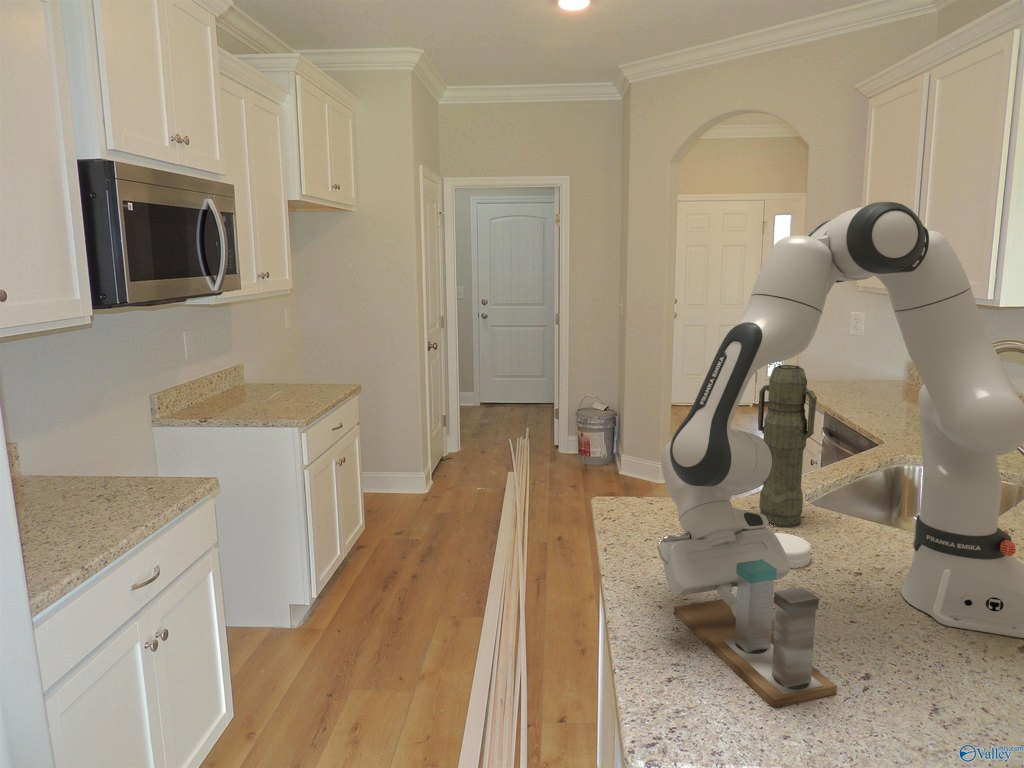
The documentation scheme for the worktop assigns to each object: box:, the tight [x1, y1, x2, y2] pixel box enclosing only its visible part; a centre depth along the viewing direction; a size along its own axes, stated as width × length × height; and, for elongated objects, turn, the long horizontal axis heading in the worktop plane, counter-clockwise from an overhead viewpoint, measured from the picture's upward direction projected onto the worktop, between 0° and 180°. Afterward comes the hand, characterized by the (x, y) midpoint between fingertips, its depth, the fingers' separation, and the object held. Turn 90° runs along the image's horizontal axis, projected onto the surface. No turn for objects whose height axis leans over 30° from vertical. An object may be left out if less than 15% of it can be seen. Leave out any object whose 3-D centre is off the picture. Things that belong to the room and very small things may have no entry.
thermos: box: [757, 364, 817, 528], centre depth 153 cm, size 9×12×35 cm
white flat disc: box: [773, 532, 812, 569], centre depth 137 cm, size 10×10×4 cm
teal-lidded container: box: [735, 559, 777, 653], centre depth 103 cm, size 3×4×13 cm
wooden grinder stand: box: [673, 586, 838, 709], centre depth 104 cm, size 26×10×14 cm, turn 17°
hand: (745, 614), depth 105 cm, fingers closed, pressing on teal-lidded container
